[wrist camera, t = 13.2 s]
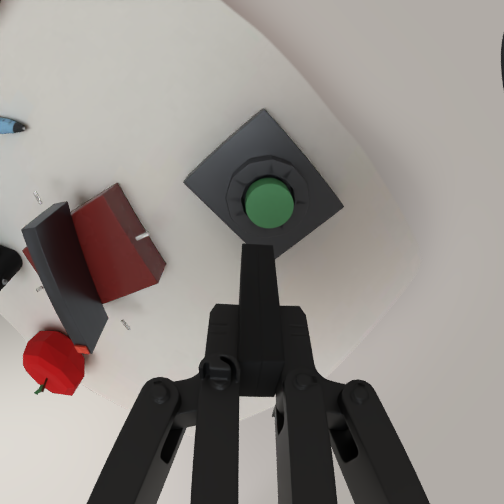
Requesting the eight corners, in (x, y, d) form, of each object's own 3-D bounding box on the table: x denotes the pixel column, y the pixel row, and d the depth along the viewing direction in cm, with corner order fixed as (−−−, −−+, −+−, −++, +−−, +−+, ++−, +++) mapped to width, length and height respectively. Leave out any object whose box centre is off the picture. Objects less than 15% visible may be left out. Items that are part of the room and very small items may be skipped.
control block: (337, 198, 27) (351, 214, 23) (266, 253, 30) (269, 275, 26) (262, 108, 22) (266, 109, 19) (187, 175, 25) (178, 188, 22)
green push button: (299, 200, 23) (303, 208, 21) (265, 227, 24) (266, 237, 23) (270, 168, 22) (272, 173, 20) (235, 197, 23) (235, 205, 21)
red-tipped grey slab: (54, 203, 22) (19, 231, 17) (67, 201, 22) (33, 228, 17) (95, 317, 29) (77, 354, 24) (108, 318, 29) (91, 355, 24)
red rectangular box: (115, 135, 23) (97, 142, 20) (201, 286, 31) (196, 308, 28) (13, 216, 26) (-4, 229, 23) (90, 324, 34) (80, 343, 31)
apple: (53, 311, 33) (23, 362, 25) (103, 357, 38) (84, 410, 29) (29, 331, 36) (3, 374, 27) (72, 370, 41) (54, 415, 32)
